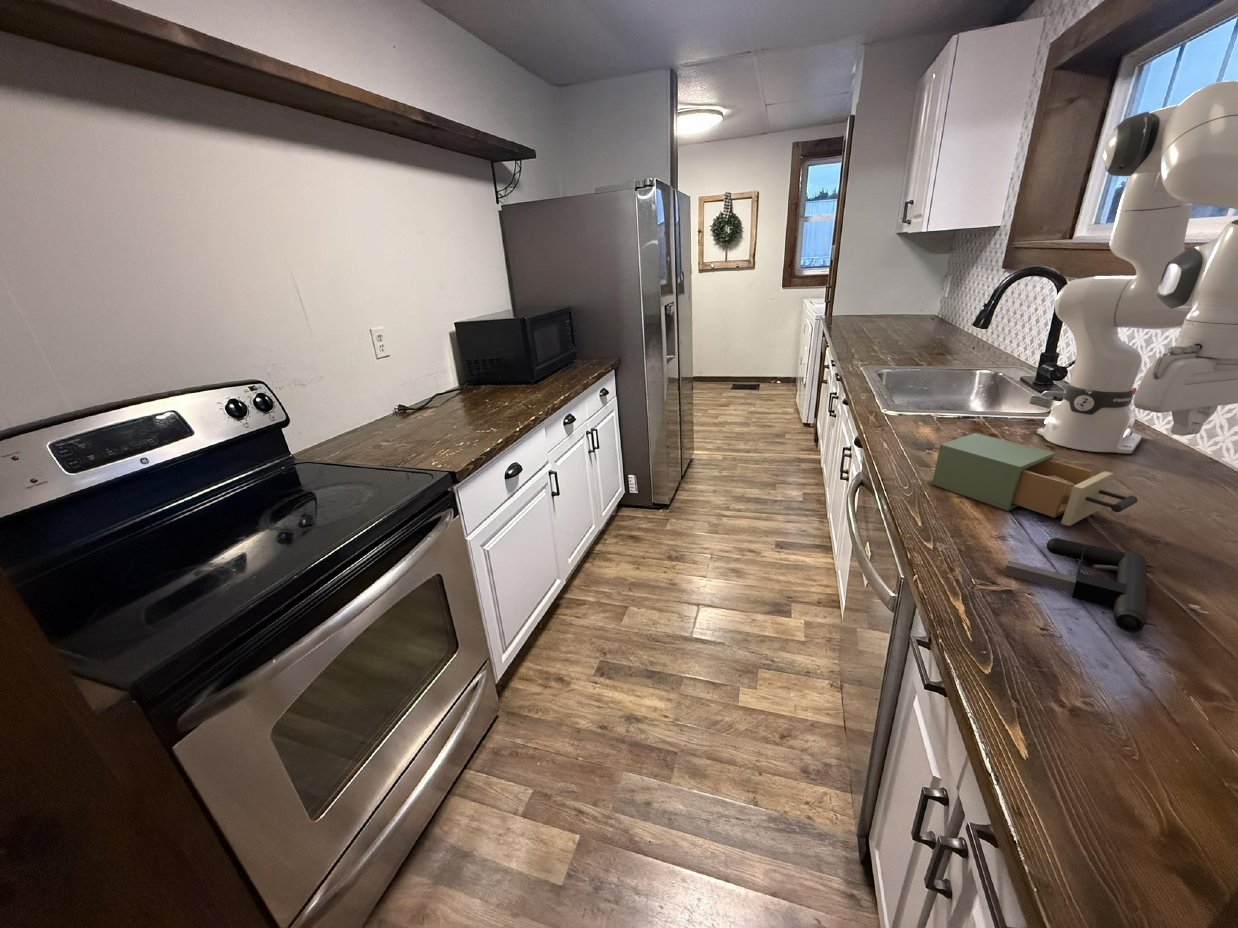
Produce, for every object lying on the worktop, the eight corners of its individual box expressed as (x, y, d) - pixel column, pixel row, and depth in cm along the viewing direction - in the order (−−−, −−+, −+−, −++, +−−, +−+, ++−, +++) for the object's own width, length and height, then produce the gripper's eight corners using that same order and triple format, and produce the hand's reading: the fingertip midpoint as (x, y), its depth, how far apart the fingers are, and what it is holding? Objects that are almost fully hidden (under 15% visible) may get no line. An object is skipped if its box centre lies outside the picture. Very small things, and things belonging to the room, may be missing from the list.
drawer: (1135, 520, 87) (1150, 482, 84) (1105, 538, 82) (1120, 499, 80) (1016, 483, 102) (1026, 450, 100) (985, 497, 98) (994, 463, 95)
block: (1048, 494, 95) (1054, 475, 94) (1068, 503, 92) (1074, 483, 90) (1029, 496, 95) (1035, 477, 93) (1048, 505, 91) (1055, 485, 90)
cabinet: (1042, 494, 99) (1055, 452, 96) (1007, 511, 94) (1020, 467, 91) (966, 471, 111) (975, 432, 108) (931, 484, 106) (940, 444, 103)
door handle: (1000, 577, 72) (1162, 622, 61) (1023, 525, 85) (1159, 553, 74) (996, 597, 73) (1154, 644, 62) (1019, 542, 86) (1153, 573, 75)
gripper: (1192, 351, 66) (1154, 448, 71) (1307, 339, 69) (1262, 433, 75) (1137, 344, 72) (1106, 434, 77) (1246, 334, 75) (1208, 421, 80)
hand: (1184, 434), depth 76 cm, fingers closed
